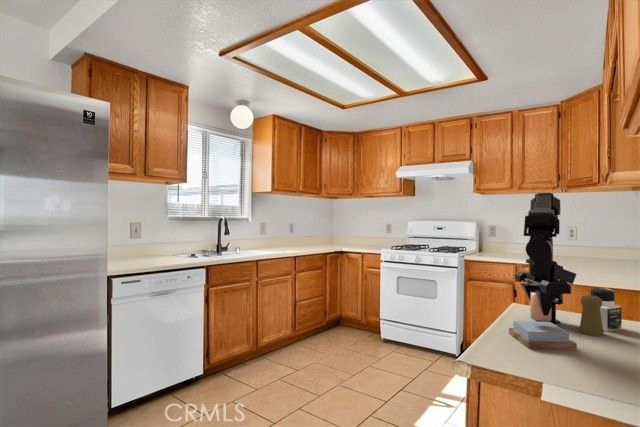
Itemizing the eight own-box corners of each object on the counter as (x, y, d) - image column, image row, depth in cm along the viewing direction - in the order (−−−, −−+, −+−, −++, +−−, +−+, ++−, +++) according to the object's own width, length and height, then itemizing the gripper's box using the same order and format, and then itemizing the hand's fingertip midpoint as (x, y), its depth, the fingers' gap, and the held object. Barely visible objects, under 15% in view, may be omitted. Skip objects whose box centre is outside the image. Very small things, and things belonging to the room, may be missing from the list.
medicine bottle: (608, 331, 111) (607, 292, 111) (583, 325, 118) (583, 287, 118) (622, 328, 114) (622, 290, 114) (596, 322, 121) (596, 285, 121)
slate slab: (513, 329, 108) (513, 320, 108) (550, 330, 107) (549, 321, 107) (528, 341, 98) (528, 331, 98) (568, 342, 97) (568, 332, 97)
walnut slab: (509, 336, 110) (509, 328, 110) (551, 337, 109) (551, 329, 109) (528, 351, 98) (528, 342, 98) (576, 352, 97) (576, 343, 97)
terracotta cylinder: (527, 315, 106) (527, 291, 106) (545, 316, 105) (545, 291, 105) (536, 320, 101) (536, 295, 101) (555, 321, 100) (555, 295, 100)
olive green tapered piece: (608, 336, 107) (608, 298, 107) (585, 335, 108) (585, 297, 108) (597, 330, 113) (597, 294, 113) (575, 329, 114) (575, 293, 114)
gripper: (593, 261, 93) (593, 323, 93) (552, 253, 112) (552, 304, 112) (547, 261, 94) (547, 322, 94) (514, 253, 113) (514, 304, 113)
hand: (540, 312), depth 103 cm, fingers closed on terracotta cylinder, 5 cm apart
